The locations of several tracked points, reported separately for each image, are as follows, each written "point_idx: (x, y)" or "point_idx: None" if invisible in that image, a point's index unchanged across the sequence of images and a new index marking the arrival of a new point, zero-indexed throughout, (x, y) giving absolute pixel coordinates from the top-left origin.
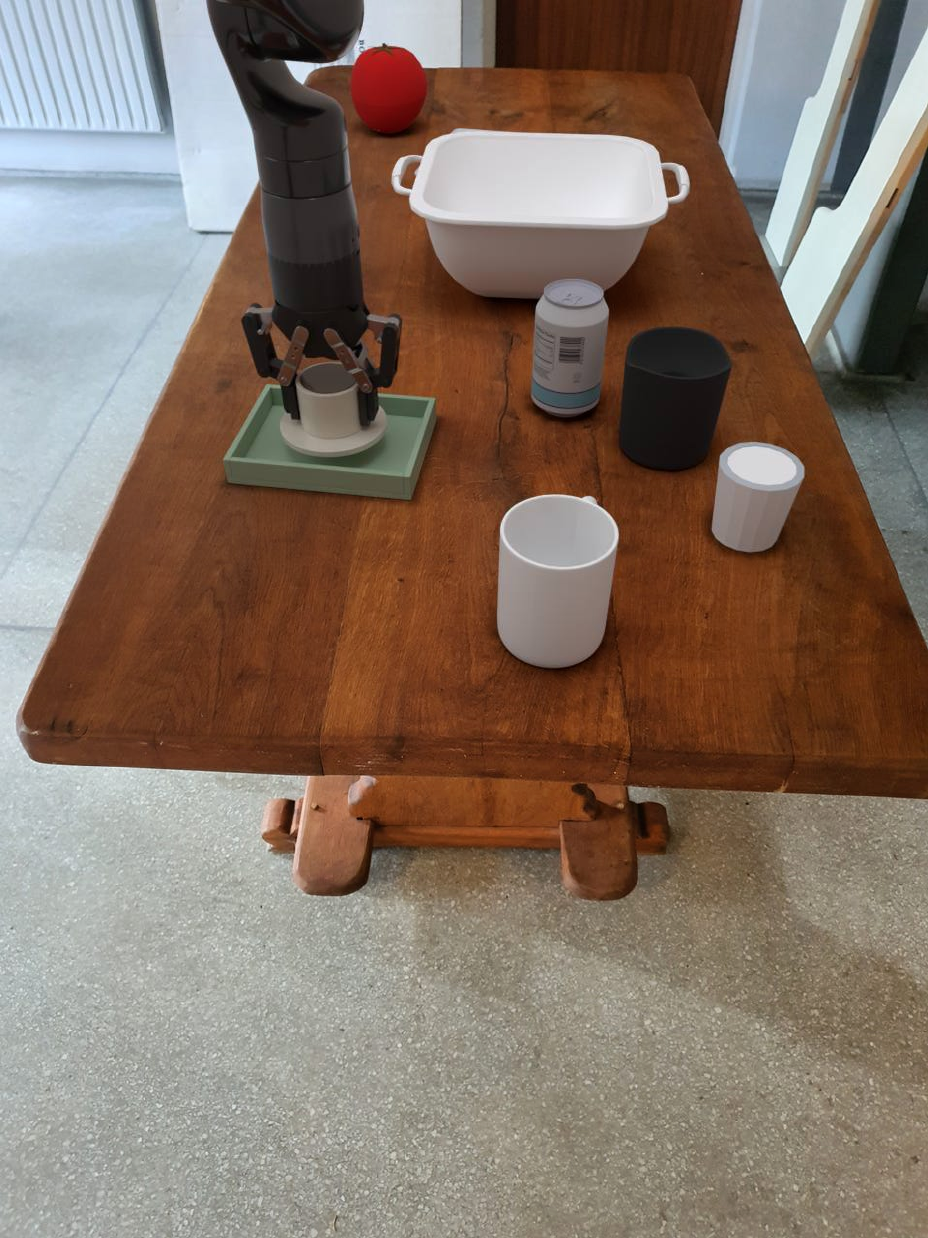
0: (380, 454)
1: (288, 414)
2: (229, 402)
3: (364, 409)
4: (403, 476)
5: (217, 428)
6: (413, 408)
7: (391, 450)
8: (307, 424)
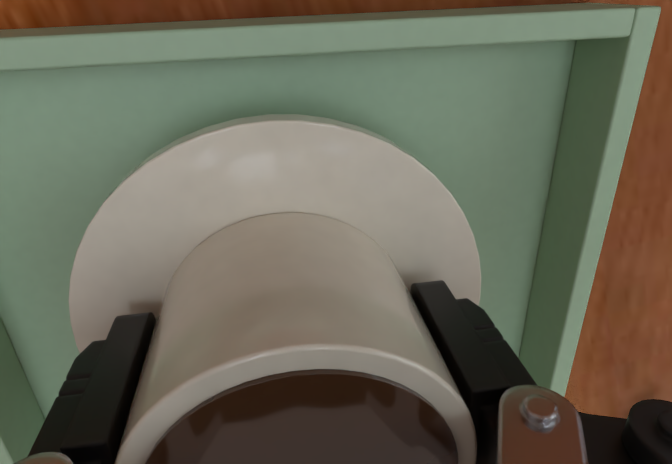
0: None
1: None
2: (621, 366)
3: (102, 368)
4: None
5: (643, 265)
6: None
7: None
8: (363, 247)
